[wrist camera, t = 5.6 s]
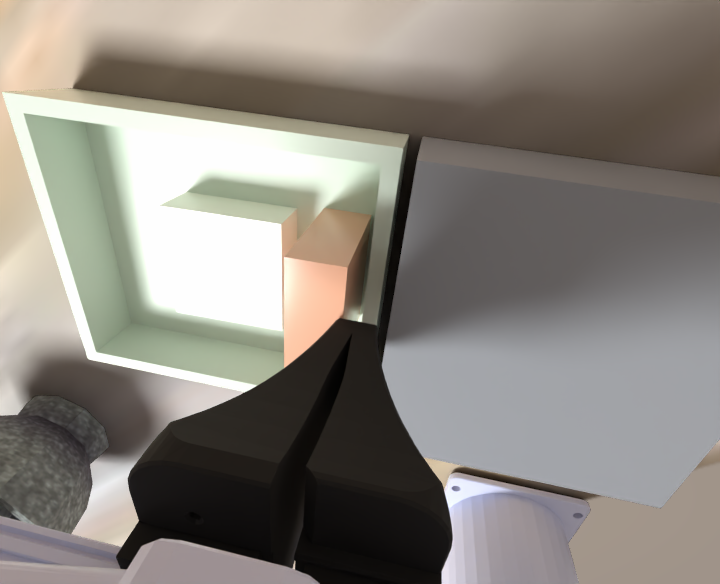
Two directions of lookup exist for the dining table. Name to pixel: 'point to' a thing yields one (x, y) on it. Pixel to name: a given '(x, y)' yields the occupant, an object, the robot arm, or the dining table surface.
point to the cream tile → (228, 257)
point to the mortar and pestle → (48, 462)
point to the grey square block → (558, 319)
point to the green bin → (170, 179)
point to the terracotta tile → (324, 278)
